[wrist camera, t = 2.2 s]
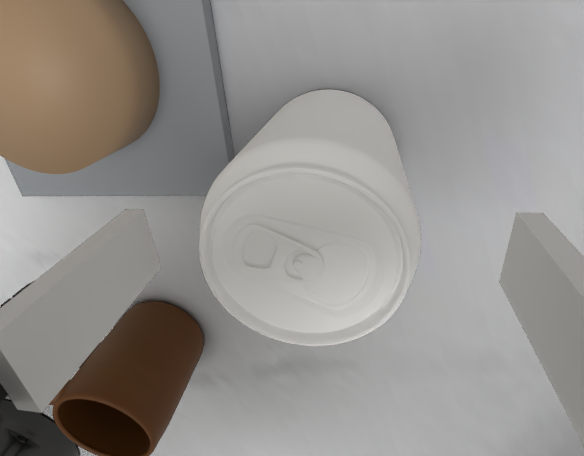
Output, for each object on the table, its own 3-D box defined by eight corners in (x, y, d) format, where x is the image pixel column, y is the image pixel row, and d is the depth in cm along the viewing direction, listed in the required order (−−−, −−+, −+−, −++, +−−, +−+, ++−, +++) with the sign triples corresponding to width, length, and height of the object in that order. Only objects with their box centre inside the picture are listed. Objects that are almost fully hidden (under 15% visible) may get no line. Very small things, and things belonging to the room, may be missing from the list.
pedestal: (35, 189, 27) (-35, 225, 22) (-88, -84, 20) (-233, -120, 15) (239, 187, 24) (209, 228, 20) (189, -133, 17) (120, -197, 12)
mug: (81, 331, 35) (-4, 425, 26) (77, 270, 31) (-24, 359, 23) (201, 369, 34) (152, 475, 26) (212, 313, 31) (159, 417, 22)
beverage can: (364, 230, 25) (368, 381, 14) (251, 192, 24) (171, 314, 14) (419, 114, 20) (481, 206, 10) (283, 67, 20) (204, 111, 10)
